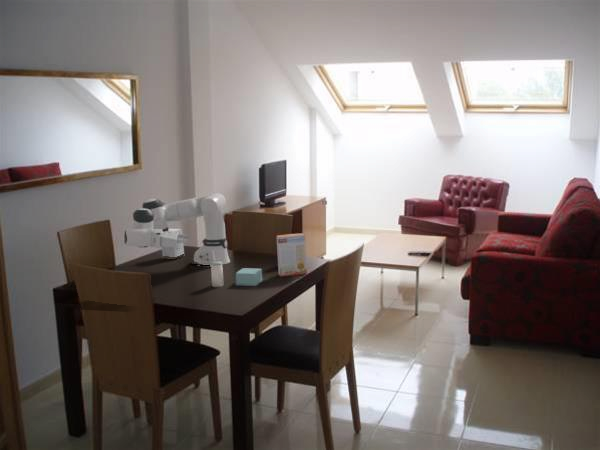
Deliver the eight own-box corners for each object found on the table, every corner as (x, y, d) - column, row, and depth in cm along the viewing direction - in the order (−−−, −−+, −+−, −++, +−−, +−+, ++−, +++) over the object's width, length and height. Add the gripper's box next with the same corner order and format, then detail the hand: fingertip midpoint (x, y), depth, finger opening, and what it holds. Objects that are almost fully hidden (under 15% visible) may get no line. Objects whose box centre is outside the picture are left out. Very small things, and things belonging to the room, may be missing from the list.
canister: (210, 286, 325) (208, 263, 323) (214, 283, 331) (213, 260, 329) (221, 287, 324) (219, 264, 322) (225, 284, 329) (224, 261, 327)
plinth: (235, 285, 326) (234, 273, 325) (243, 279, 337) (242, 267, 335) (256, 285, 324) (255, 273, 323) (263, 280, 334) (262, 268, 333)
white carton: (184, 256, 394) (182, 228, 391) (175, 260, 385) (173, 231, 382) (171, 255, 398) (169, 228, 395) (162, 259, 389) (159, 231, 386)
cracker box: (304, 271, 347) (302, 232, 343) (307, 274, 341) (305, 234, 337) (278, 274, 344) (276, 234, 340) (280, 277, 338) (278, 236, 334)
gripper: (160, 240, 330) (188, 240, 332) (156, 249, 310) (186, 249, 312) (160, 227, 329) (188, 228, 331) (156, 235, 309) (186, 236, 311)
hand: (187, 238), depth 321 cm, fingers open, 8 cm apart
